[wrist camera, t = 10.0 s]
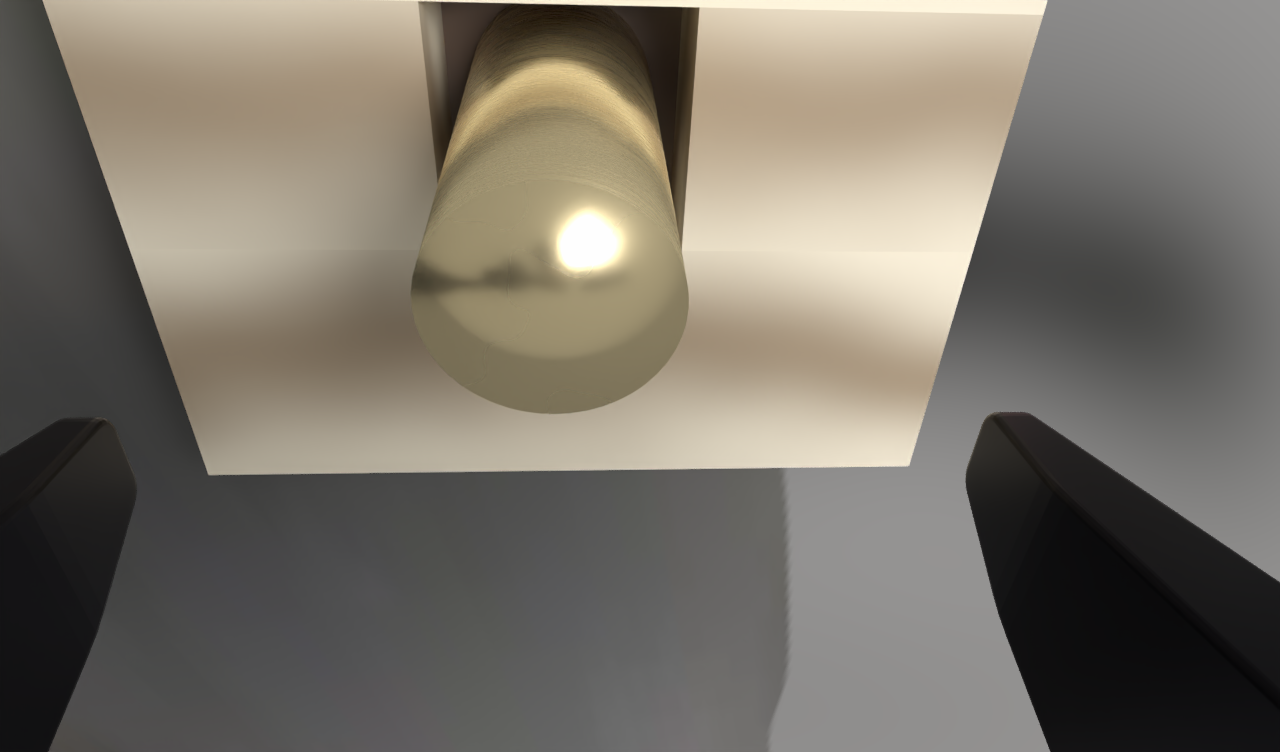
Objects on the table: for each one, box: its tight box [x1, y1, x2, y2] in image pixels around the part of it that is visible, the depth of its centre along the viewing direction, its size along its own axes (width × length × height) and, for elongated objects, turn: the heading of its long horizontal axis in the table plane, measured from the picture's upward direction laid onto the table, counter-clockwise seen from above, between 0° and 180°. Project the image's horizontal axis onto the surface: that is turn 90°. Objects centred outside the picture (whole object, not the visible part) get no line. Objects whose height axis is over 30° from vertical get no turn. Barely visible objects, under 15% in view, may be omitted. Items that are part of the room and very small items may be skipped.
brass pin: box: [411, 3, 689, 414], centre depth 15 cm, size 4×4×8 cm
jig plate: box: [43, 0, 1047, 475], centre depth 17 cm, size 16×16×4 cm
